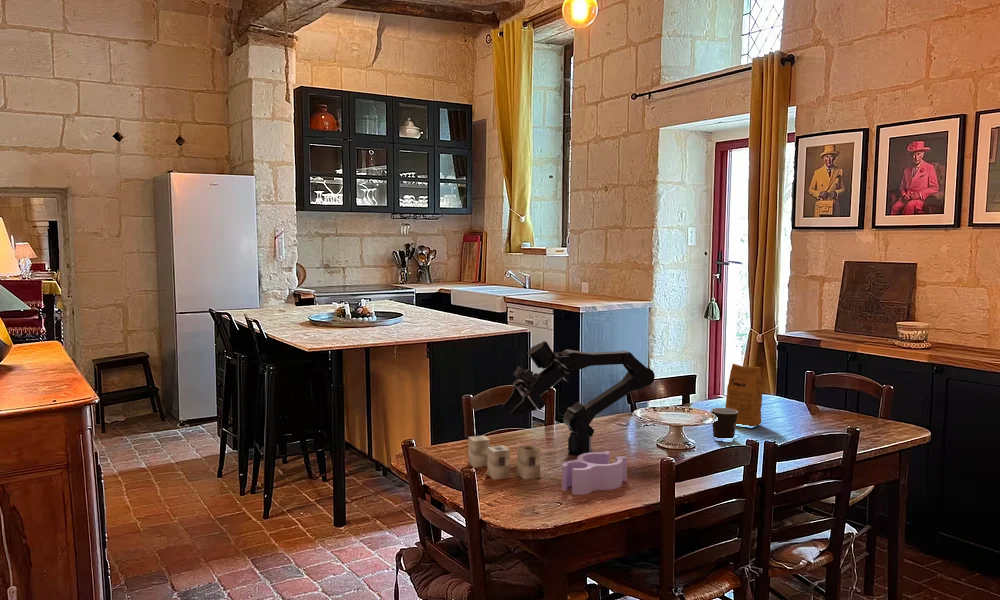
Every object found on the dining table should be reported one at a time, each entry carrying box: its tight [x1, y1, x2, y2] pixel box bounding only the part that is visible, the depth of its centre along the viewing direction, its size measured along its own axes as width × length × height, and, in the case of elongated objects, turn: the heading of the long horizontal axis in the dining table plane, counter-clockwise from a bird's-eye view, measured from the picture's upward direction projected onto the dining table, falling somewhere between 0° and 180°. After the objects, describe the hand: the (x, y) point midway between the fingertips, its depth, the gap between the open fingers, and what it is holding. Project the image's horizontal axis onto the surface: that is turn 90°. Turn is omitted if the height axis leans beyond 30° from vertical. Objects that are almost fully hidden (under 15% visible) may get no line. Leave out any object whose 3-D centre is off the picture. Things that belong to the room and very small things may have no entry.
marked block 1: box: [486, 445, 511, 480], centre depth 212 cm, size 5×5×8 cm
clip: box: [561, 450, 628, 496], centre depth 205 cm, size 20×12×7 cm, turn 130°
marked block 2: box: [516, 444, 541, 480], centre depth 212 cm, size 5×5×8 cm
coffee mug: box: [710, 407, 738, 438], centre depth 251 cm, size 12×9×10 cm
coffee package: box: [724, 363, 764, 426], centre depth 269 cm, size 10×12×22 cm
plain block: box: [467, 435, 491, 469], centre depth 222 cm, size 5×5×8 cm
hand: (507, 411), depth 228 cm, fingers open, 9 cm apart
